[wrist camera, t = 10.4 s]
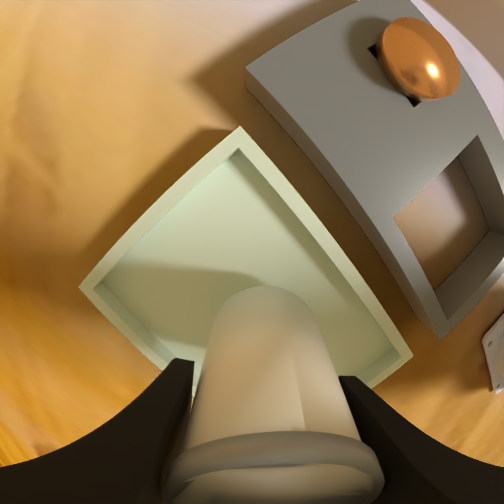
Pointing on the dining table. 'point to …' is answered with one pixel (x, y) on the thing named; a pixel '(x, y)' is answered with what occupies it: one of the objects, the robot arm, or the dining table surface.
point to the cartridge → (270, 414)
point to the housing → (387, 146)
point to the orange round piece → (418, 60)
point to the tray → (237, 266)
